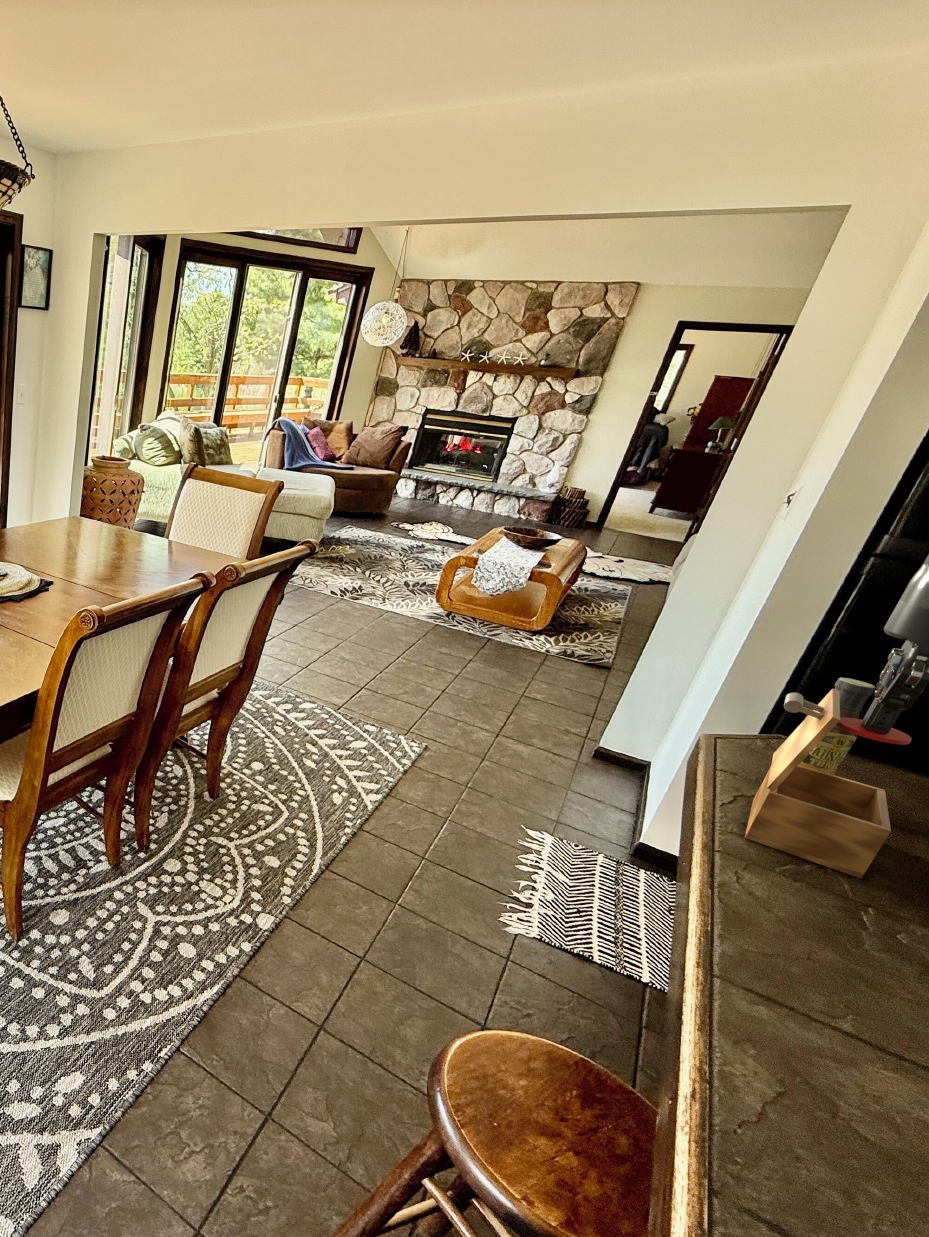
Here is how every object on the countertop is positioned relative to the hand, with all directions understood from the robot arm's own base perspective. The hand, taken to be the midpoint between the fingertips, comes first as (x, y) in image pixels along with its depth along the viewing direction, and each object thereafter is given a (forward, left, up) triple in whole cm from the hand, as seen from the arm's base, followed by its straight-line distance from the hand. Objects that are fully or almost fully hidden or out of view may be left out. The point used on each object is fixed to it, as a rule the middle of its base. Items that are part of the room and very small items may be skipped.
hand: (874, 728), depth 93 cm
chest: (0, -4, -19) cm, 20 cm away
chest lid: (+4, -5, -5) cm, 8 cm away
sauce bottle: (-3, -23, -19) cm, 30 cm away
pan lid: (0, 0, -1) cm, 1 cm away
